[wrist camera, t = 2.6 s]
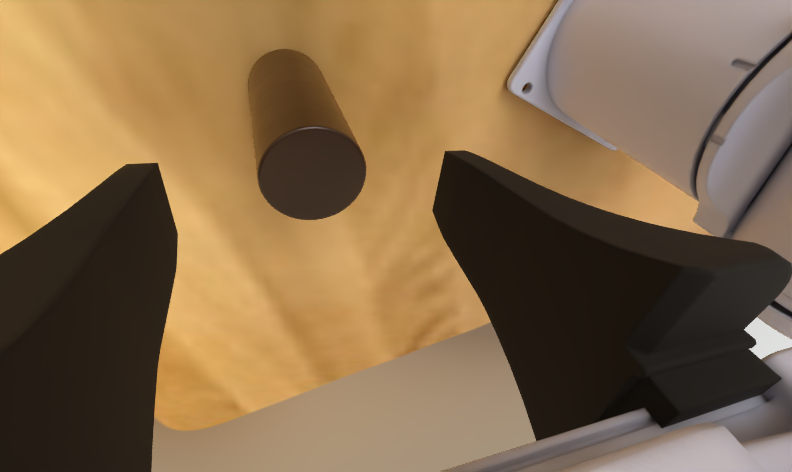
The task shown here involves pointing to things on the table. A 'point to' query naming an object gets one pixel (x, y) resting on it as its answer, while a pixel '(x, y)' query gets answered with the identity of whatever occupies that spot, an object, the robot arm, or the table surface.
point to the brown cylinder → (301, 139)
